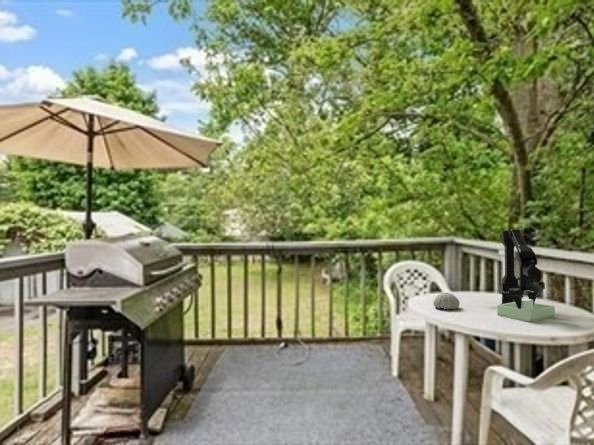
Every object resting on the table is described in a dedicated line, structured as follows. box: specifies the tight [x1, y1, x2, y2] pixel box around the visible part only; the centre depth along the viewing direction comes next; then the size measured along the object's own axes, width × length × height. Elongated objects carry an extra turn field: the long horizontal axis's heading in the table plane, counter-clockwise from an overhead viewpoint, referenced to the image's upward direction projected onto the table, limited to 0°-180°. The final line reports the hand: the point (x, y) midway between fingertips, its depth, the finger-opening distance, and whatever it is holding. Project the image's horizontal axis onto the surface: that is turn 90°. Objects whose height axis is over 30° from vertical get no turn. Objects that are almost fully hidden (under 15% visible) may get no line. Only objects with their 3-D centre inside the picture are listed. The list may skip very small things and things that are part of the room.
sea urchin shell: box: [433, 292, 461, 310], centre depth 300 cm, size 13×14×8 cm
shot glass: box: [521, 297, 533, 311], centre depth 278 cm, size 7×7×7 cm
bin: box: [496, 302, 556, 323], centre depth 278 cm, size 18×18×5 cm
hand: (525, 307), depth 278 cm, fingers open, 9 cm apart
